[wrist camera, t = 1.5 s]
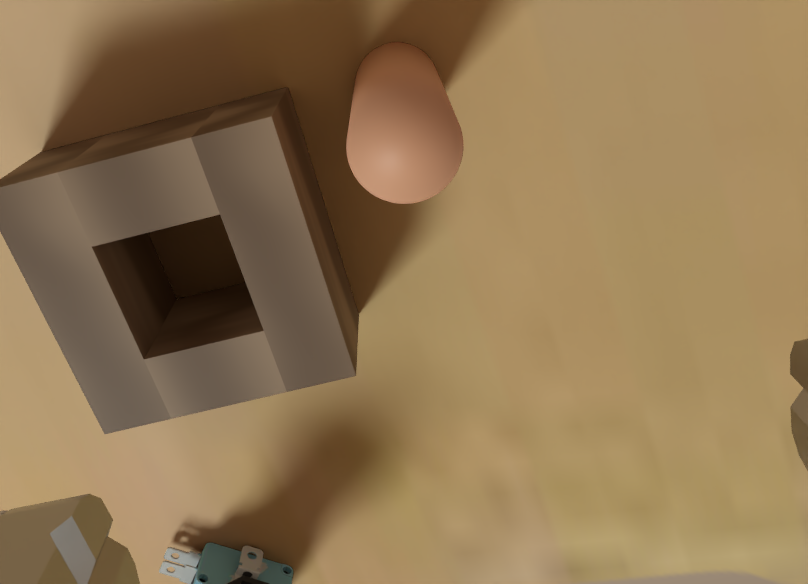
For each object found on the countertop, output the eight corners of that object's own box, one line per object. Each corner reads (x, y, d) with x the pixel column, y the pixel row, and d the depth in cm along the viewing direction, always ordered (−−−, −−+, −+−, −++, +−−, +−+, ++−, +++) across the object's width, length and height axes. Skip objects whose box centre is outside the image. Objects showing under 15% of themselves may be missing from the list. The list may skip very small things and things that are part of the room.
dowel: (428, 32, 28) (449, 74, 20) (447, 116, 30) (473, 188, 21) (344, 54, 28) (331, 105, 20) (367, 137, 30) (364, 215, 22)
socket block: (287, 87, 29) (271, 116, 24) (358, 314, 33) (355, 375, 29) (40, 152, 30) (-20, 192, 25) (140, 366, 34) (104, 434, 29)
